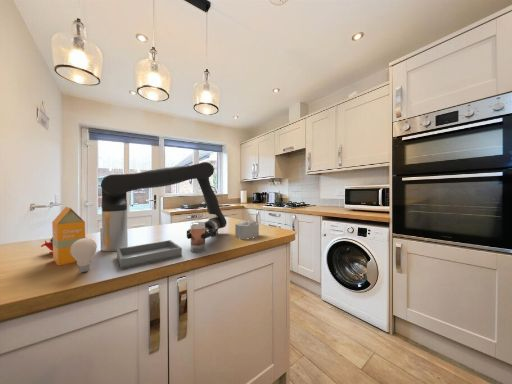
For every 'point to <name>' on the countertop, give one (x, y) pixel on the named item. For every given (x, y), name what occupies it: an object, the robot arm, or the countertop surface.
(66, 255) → the orange juice
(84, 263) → the light bulb
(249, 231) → the grey rough block
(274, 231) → the countertop surface
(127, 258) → the tote
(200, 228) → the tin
